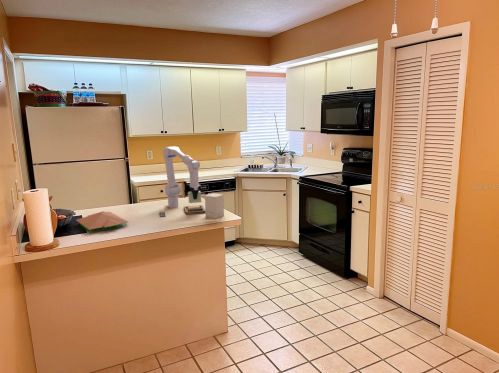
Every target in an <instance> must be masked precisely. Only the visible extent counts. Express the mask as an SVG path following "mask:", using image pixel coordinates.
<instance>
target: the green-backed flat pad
mask: <svg viewBox="0 0 499 373" xmlns="http://www.w3.org/2000/svg"><path fill="white" fill-rule="evenodd" d="M76 222H78V223H79V224H80V227H81V228H83V229H84V230H85V231H86V232H89V233H90V234H92V233H97V231H92V230H98V231H101V232H104V231H108V229H110V228H114V230H117V228H120V227H122V224H123V227H126V226H127V224H128V223H129V221H128V220H127V219H125V218H123V217H121V216H119V215H117V214H115V213H113V212H111V211H100V212H96V213H93V214H90V215H87V216H85V217H81V218H77V219H76Z"/></svg>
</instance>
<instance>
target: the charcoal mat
mask: <svg viewBox="0 0 499 373" xmlns="http://www.w3.org/2000/svg"><path fill="white" fill-rule="evenodd" d="M158 213H159V217H160V218H164V217H166V212H165V211H162V212H161V211H160V212H158Z"/></svg>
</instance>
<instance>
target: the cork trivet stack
mask: <svg viewBox="0 0 499 373" xmlns="http://www.w3.org/2000/svg"><path fill="white" fill-rule="evenodd" d="M190 206H191V207H187V209H196V208H201V207H200V206H198V205H190Z"/></svg>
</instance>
